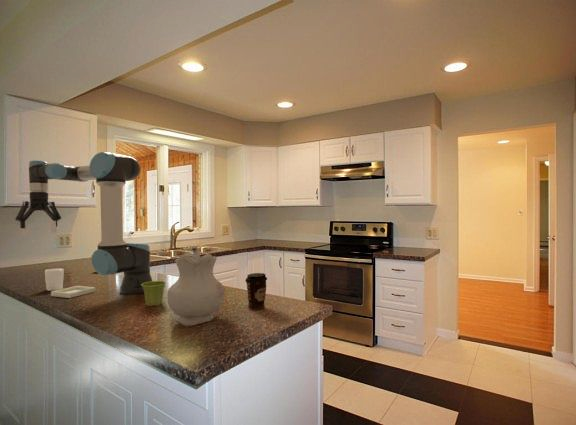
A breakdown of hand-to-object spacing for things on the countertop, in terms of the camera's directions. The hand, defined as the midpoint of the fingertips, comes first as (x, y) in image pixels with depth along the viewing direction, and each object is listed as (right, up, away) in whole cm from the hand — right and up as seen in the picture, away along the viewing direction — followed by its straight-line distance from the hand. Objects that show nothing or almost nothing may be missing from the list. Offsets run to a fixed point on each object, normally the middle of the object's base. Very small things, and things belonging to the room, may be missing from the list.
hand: (39, 234), depth 166 cm
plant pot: (+70, -27, -30) cm, 80 cm away
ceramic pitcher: (+92, -27, -49) cm, 108 cm away
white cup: (+7, -28, +1) cm, 29 cm away
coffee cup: (+113, -26, -38) cm, 122 cm away
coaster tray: (+23, -28, -9) cm, 37 cm away
